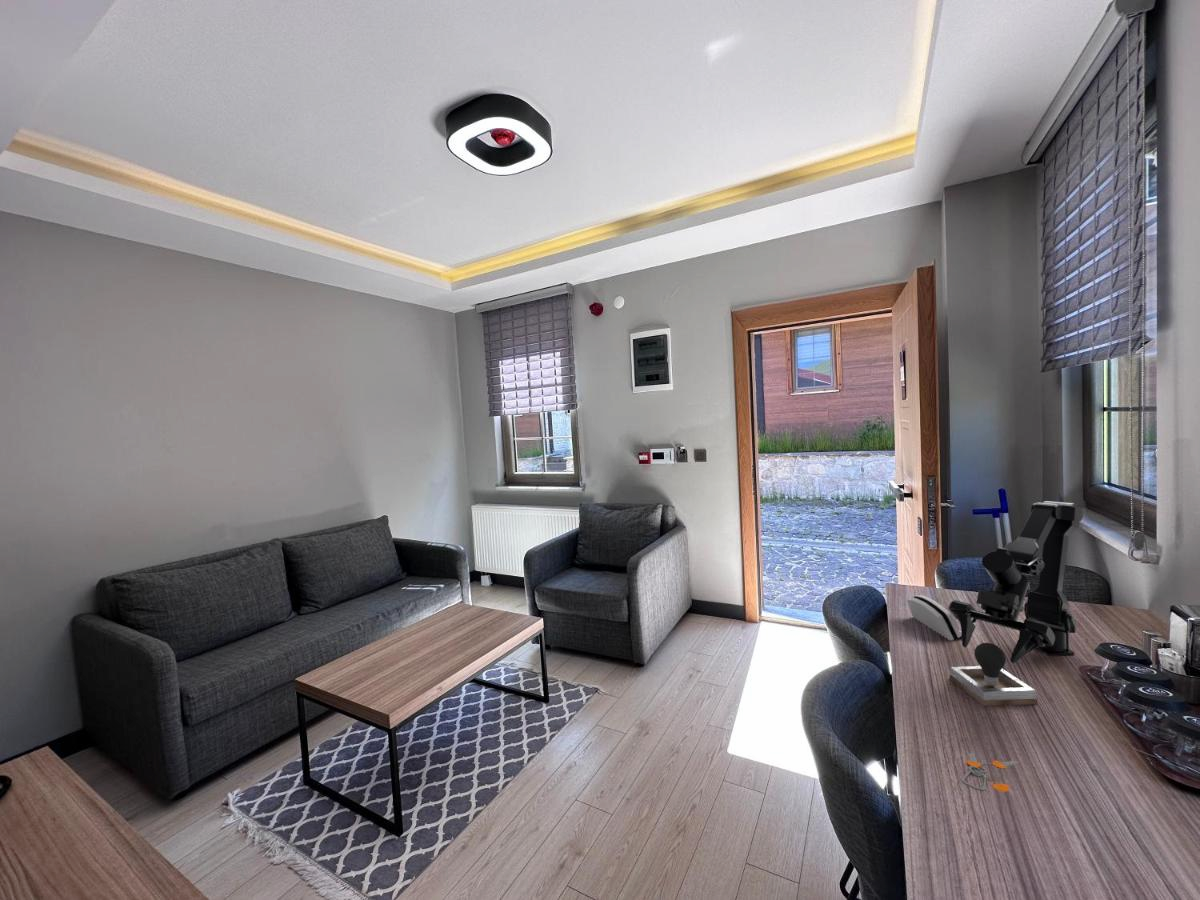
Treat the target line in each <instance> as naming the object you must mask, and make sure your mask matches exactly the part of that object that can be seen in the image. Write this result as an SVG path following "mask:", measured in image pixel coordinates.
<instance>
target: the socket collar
mask: <svg viewBox="0 0 1200 900" xmlns="http://www.w3.org/2000/svg"><path fill="white" fill-rule="evenodd" d="M950 675H951V676H953V677H954V678H955V679H956V680H958V681H959V682H960V683H962V684H963V685H964V686H965V687H967V688H968V689H969V690H971V691H972V692H973V693H974V694H976V695H977V696H978V697H980V698H981V699H982V700H983V701H989V700H1022V699H1035V698H1036V689H1034V688H1032V687H1031V686H1030V685H1028V684H1027V683H1025V682H1024V681H1022V680H1021V679H1019V678H1017V677H1016V676H1015V675H1013V674H1011V673H1010V672H1008V671H1006V670H1005V669H1003V668H1002V669H1001V670H1000V672H999V676H998V678H999V679H1001V680H1002V681H1004V682H1005V683H1007V684H1008V685H1010V686H1011V687H1012V688H990V689H985V688H984V687H982V686H981V685H979V684H978V683H977V682H975V681H974V680H973V679H971V678H970V677H984V673H983V671H982V668H981V666H980V665H975V666H974V665H973V666H970V665H967V666H950Z"/></svg>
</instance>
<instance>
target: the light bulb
mask: <svg viewBox="0 0 1200 900" xmlns="http://www.w3.org/2000/svg"><path fill="white" fill-rule="evenodd" d="M974 657H975V660H976V663H978V666H981V668H982V671H983V673H984V680H985V683H986V684H988V685H989V686H990V687H994V686H997V685H998V676H999V672H1000V670H1001V669H1003V668H1004V667H1005V665H1006V663H1007V662H1006V661H1007V659H1006V654H1005V652H1004V651H1003V649H1001V647H999V646H998V645H996V644H994V643H991V642H983V643H980V644H978V645H977V646H976V647H975V649H974Z"/></svg>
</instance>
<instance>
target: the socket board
mask: <svg viewBox="0 0 1200 900" xmlns="http://www.w3.org/2000/svg"><path fill="white" fill-rule="evenodd" d="M970 678H971V679H973V680H974V681H975V682H977V683H978V684H979V685H981V686H982V687H984V688H985V689H990V688H1012V687H1011V686H1010V685H1008V684H1007V683H1005V682H1004V681H1002V680H1001V679H999V678H998V685H997V686H994V687H990V686H989V685H988V684H986V683H985V680H984V677H970ZM949 680H951V681H952V682H953V683H954V684H955V685H957V686H958V687H959V688H960V689H962V690H963V691H964V692H966V693H967V694H968V695H969V696H971V697H972V698H973V699H974V700H976V701H977V702H978V703H979V704H980V705H982V706H985V707H987V706H1015V705H1019V706H1020V705H1021V706H1022V705H1037V704H1038V699H1037V698H1036V697H1035V699H1022V700H989V701H983V700H982V699H981V698H980V697H978V696H977V695H976V694H974V693H973V692H972V691H971V690H969V689H968V688H967V687H965V686H964V685H963V684H962V683H960V682H959V681H958V680H956V679H955V678H954V677H953V676H951V674H949Z"/></svg>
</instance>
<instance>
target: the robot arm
mask: <svg viewBox="0 0 1200 900" xmlns="http://www.w3.org/2000/svg"><path fill="white" fill-rule="evenodd" d="M1030 508H1031V509H1030V514H1029V516H1028V518H1027V520H1026V522H1025V524H1024V525H1023V528H1022V529H1021V531H1020V533H1019V535H1018V537H1017V538H1016V539H1014V540H1012V541H1009V542H1007V544H1006V545H1005V546H1004V547H1003V548H1002V547H996V550H995V551H992V552H991V551H990V552H989V553H987V554H986V555H984V556H983V557H982V560H981V563H982V566H983V568H984V569H985V571H986V572H987V574H988V575H989V577H990V579H991V580H992V582H994V583H995V584H994V587H993V589H990V590H989V591H985V590H981V589H978V591H977V592H978V593H977V597H976V604H977V605H980V608H981V610H983V611H984V612H983V611H979V610H976V609H975V608H974V607H973V606H972V603H968V602H965V601H960V600H957V599H953V600H952V601H950V603H949V605H948V611H949V612H950V614H951V615H952V616H953V618H955V619H956V620H958V622H959V624H960V629H961V630H960V631H961V633H962V637H961V644H962V647H963V648H965V649H966V648H967V646H968V645H969V644H970V641H971V639H972V637H973V634H974V632H975V629H976V625H975V624H974V623H977V620H979V621H982V622H986V623H990V624H993V625H997V626H1001V627H1005V628H1007V629H1011V630H1016V631H1018V633H1019V636H1018V640H1017V642H1016V643H1015V646H1014V648H1013V651H1012V653H1011V657H1010V661H1009V662H1010V663H1012V664H1015V663H1016V662H1018V661H1019V660H1020V659H1021V658H1023V657H1024V656H1026V655H1027V654H1028V653H1030V652H1032V651H1033V650H1035V649H1037V650H1038V651H1040V652H1042V653H1045V654H1046V655H1047V656H1063V655H1075V652H1074V650H1071V649H1070V645H1069V643H1070V642H1069V641H1070V640H1069V637H1070V635H1069V634H1076V633H1077V620H1076V619H1075V617H1074V615H1073V614H1072V612H1071V610H1070V603H1069V601H1068V599H1067V598H1066V596H1065V595H1064V593H1063V586H1064V579H1065V569H1066V561H1067V553H1068V543H1069V537H1071V535H1072V534H1073V533H1075V532H1076V531H1077V530H1078V529H1079V526H1080V522H1082V520H1083V518H1084V511H1083V509H1082V508H1081V507H1078V504H1076V503H1074V502H1063V501H1062V502H1061V501H1053V500H1052V501H1051V500H1050V501H1048V500H1044V501H1043V502H1033V503H1032V504H1031V507H1030ZM1041 550H1042V553H1041ZM1038 574H1039V577H1038V584H1037V587H1036V588H1035V589H1033V590H1031V586H1030V581H1029V580H1028V578H1027V577H1026V576H1025V575H1027V576H1028V575H1029V576H1037V575H1038ZM1030 590H1031V591H1030ZM1027 591H1029V592H1028V593H1027ZM1026 595H1027V600H1026V602H1025V604H1024V601H1025V597H1026ZM1023 605H1024V606H1023ZM1023 611H1024V615H1025V619H1024V620H1023V622H1021V621H1018V619H1019V615H1020V612H1021V613H1022V612H1023Z"/></svg>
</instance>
